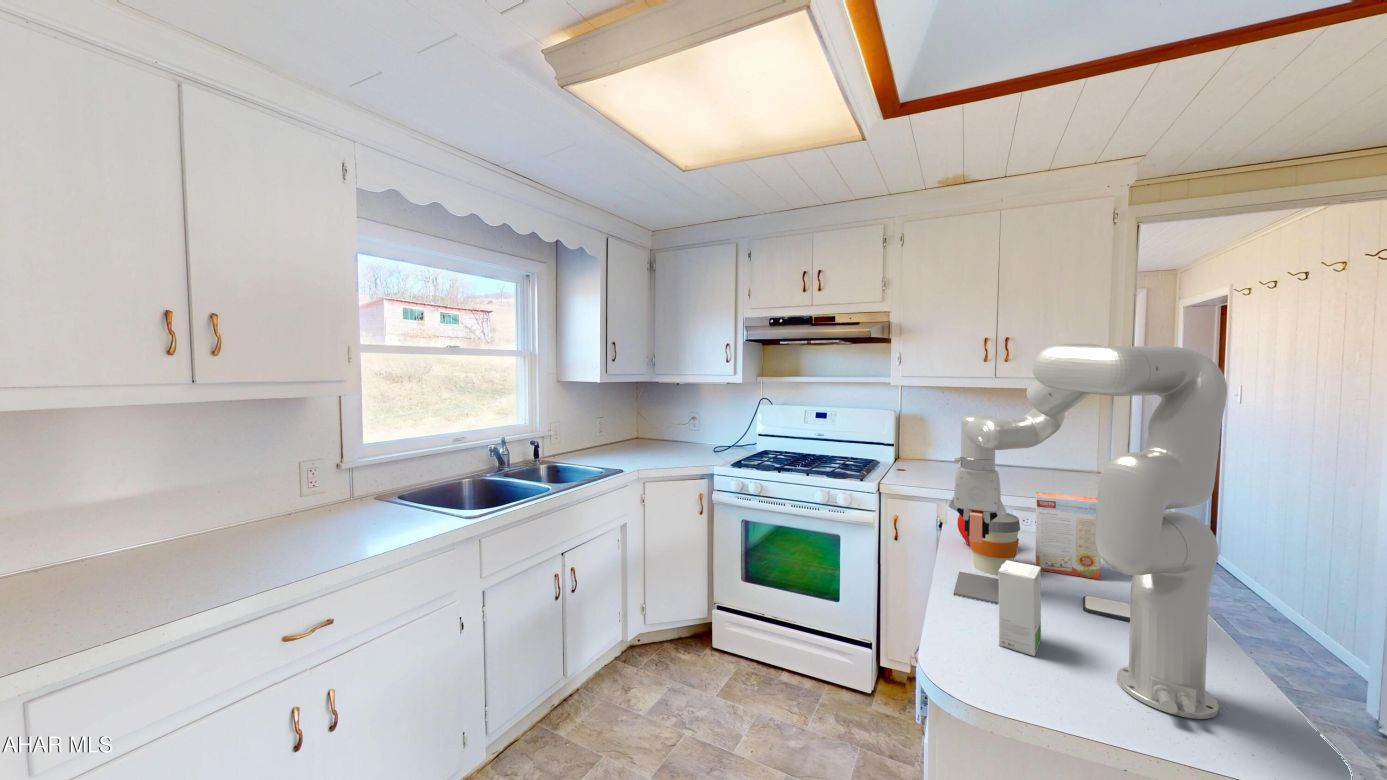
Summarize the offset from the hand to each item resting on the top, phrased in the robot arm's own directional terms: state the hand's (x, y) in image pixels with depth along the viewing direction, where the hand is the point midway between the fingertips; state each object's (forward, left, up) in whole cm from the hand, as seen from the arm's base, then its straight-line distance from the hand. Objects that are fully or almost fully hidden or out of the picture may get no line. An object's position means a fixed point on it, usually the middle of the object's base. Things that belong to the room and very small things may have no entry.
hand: (976, 535), depth 126 cm
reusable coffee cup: (+16, -3, -14) cm, 21 cm away
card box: (0, 0, 0) cm, 0 cm away
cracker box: (+24, -20, -14) cm, 34 cm away
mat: (0, -3, -14) cm, 14 cm away
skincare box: (-24, -9, -14) cm, 29 cm away
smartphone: (+2, -30, -14) cm, 33 cm away
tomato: (+34, 0, -14) cm, 37 cm away
